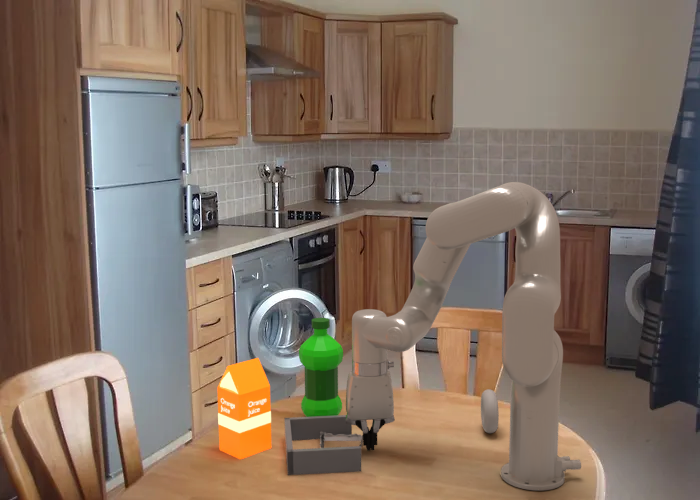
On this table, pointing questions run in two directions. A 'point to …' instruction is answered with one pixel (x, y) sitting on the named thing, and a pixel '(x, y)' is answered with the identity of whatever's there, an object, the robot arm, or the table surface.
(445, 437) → the table surface
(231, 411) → the orange juice
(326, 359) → the plastic bottle
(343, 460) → the tray
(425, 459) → the table surface
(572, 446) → the table surface
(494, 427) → the donut
